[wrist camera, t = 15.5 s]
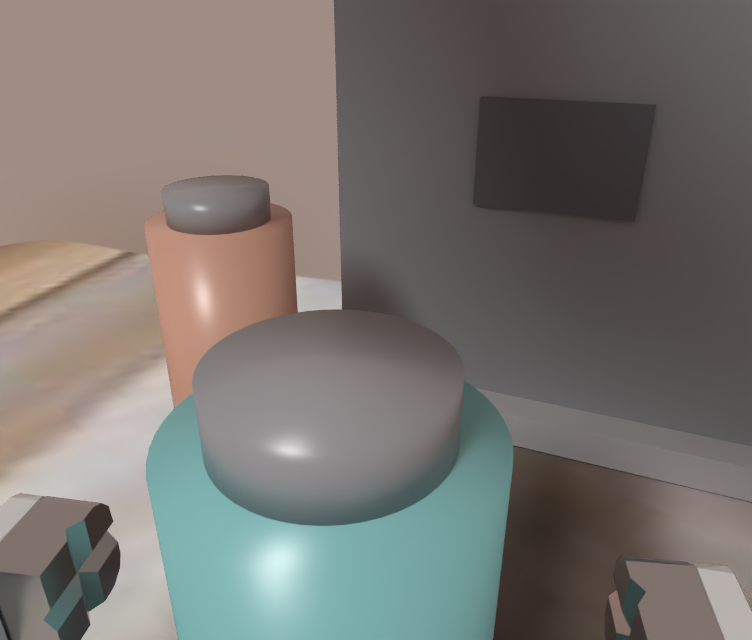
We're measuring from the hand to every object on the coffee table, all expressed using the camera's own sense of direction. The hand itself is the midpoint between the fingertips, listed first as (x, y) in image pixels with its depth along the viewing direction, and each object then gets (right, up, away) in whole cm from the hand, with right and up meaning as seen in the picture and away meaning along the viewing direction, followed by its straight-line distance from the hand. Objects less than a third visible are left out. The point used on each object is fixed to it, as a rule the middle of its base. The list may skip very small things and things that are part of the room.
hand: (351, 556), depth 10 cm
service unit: (+8, 0, +21) cm, 23 cm away
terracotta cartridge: (-5, -3, +15) cm, 16 cm away
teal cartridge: (0, -8, +3) cm, 8 cm away
